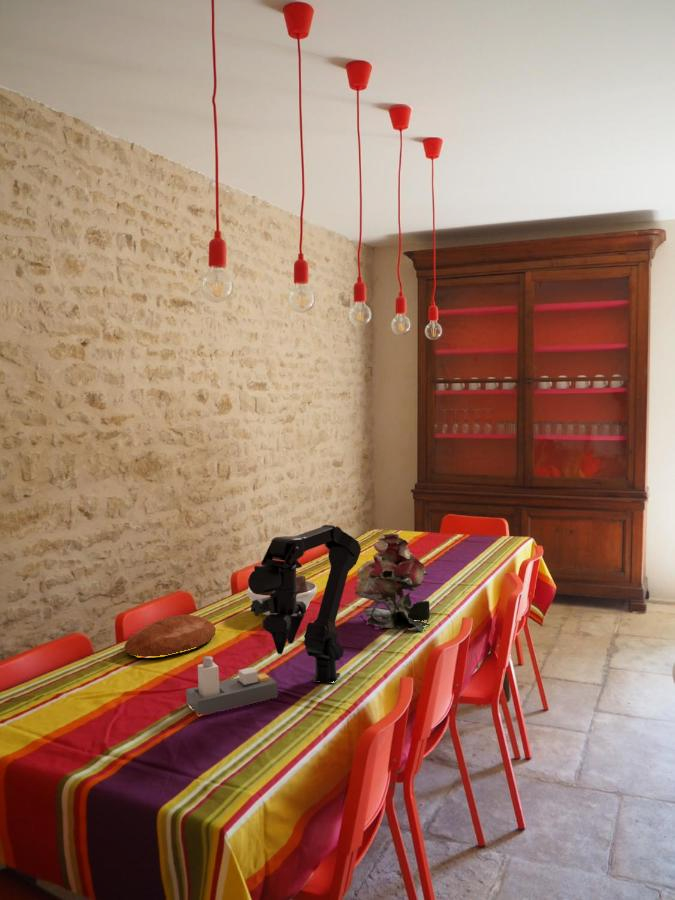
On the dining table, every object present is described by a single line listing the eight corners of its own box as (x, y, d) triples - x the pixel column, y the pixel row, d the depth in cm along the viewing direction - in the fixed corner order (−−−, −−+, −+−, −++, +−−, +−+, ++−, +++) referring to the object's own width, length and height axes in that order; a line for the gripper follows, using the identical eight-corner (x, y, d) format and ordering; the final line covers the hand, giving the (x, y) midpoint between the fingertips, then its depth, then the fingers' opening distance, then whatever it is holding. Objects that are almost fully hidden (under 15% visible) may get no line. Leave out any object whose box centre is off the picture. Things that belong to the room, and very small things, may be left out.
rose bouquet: (428, 607, 265) (426, 525, 264) (431, 633, 236) (429, 540, 235) (357, 608, 268) (355, 526, 266) (352, 633, 239) (349, 541, 237)
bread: (108, 656, 224) (106, 628, 224) (179, 627, 252) (178, 602, 251) (163, 667, 213) (162, 637, 212) (231, 636, 241) (230, 609, 240)
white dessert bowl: (316, 622, 251) (314, 579, 250) (243, 624, 252) (241, 581, 251) (319, 603, 276) (318, 563, 275) (253, 604, 277) (251, 565, 276)
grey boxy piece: (263, 686, 195) (262, 661, 195) (277, 698, 188) (276, 671, 187) (186, 704, 185) (185, 677, 185) (198, 717, 177) (197, 689, 177)
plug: (214, 702, 186) (212, 654, 185) (220, 707, 183) (218, 658, 182) (199, 706, 184) (197, 657, 183) (204, 711, 181) (202, 661, 180)
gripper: (266, 578, 197) (266, 636, 197) (241, 594, 179) (242, 657, 179) (306, 580, 194) (306, 639, 195) (286, 596, 176) (286, 660, 177)
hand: (285, 648), depth 187 cm, fingers open, 9 cm apart
